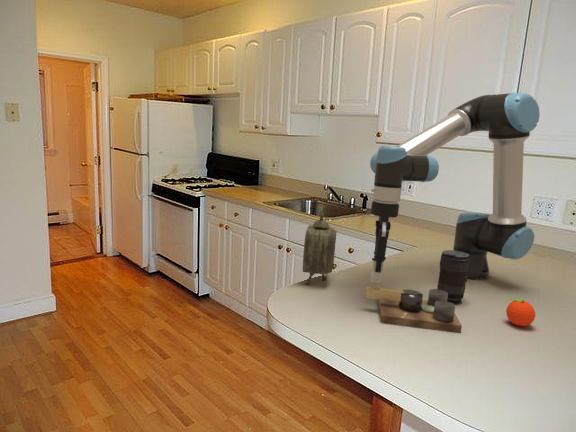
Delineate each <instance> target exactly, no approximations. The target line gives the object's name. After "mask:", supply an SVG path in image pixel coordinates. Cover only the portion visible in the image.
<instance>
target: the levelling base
mask: <svg viewBox="0 0 576 432" xmlns="http://www.w3.org/2000/svg"><path fill="white" fill-rule="evenodd" d="M447 298H448V293H447V292H445V291H443V290H439V289H437V288H433V289H429V291H428V298H427V300H424V299H422V306H421V310H420V311H418V312H411V311H406V310H403V309H401V308H400V307H399V301H392V300H383V299H377V306H378V311H379V319H380V324H387V325H388V324H389V325H395V326H396V325H397V326H404V327H411V328H419V329H427V330H437V331H441V332H442V331H444V332H451V333H460V334H461V333H462V325H463V324H462V323H461V321H460V320H459V318H458V316H457V315H456V313H455V312H456V304H453V303H450V302H447Z"/></svg>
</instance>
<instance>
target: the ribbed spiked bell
mask: <svg viewBox="0 0 576 432" xmlns="http://www.w3.org/2000/svg"><path fill="white" fill-rule="evenodd" d="M324 211H325V206H324V205H322V206H321V207H320V216H319V219H317V220H315V221H314V222H313V224H312V225H310V224H309V225H308V226H307V227H306V231H305V233H304V234H305V235H304V244H303V256H302V258H303V259H302V272H303V273H308V274H309V276H308V278H307V279H306V280H305V281H304V283H305V285H307V286H308V285H310V284H311V279H312V277H313V276H314V275H315V274H317V275H321V276H322V277H321V278H320V279H321V281H322V282H326V281H327V277H326V275H328V274H331V273H333V270H334V269H333V268H334V262H335V254H336V253H335V252H336V244H337V243H336V241H337V232H338V231H337V230H336V229H335V228H333V227H331V226H330V224H329V222H328V221H326V220H325V219H324Z"/></svg>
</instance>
